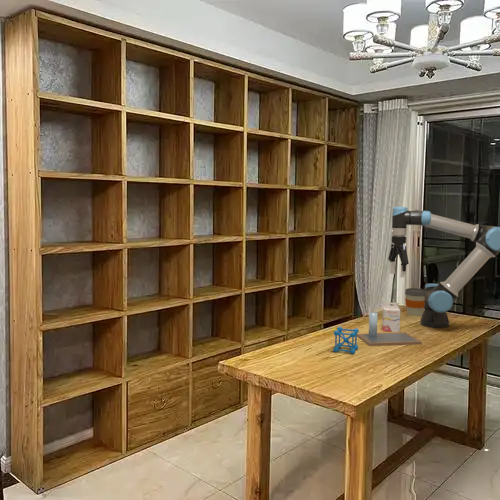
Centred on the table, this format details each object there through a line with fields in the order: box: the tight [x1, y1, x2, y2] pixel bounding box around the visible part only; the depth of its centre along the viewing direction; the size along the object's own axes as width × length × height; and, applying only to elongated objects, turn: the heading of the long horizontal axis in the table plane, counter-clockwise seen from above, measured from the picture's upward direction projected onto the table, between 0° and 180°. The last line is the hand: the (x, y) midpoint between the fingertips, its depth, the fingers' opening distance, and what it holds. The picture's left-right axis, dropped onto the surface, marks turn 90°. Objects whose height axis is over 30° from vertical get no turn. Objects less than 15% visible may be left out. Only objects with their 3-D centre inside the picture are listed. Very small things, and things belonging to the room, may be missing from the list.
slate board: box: [357, 331, 423, 347], centre depth 262 cm, size 26×18×1 cm
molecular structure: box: [332, 326, 360, 355], centre depth 242 cm, size 10×10×10 cm
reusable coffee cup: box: [404, 287, 425, 317], centre depth 320 cm, size 13×13×15 cm
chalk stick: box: [368, 311, 378, 338], centre depth 263 cm, size 4×4×12 cm
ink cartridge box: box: [381, 302, 401, 333], centre depth 280 cm, size 9×5×15 cm, turn 84°
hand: (397, 275), depth 283 cm, fingers open, 13 cm apart
